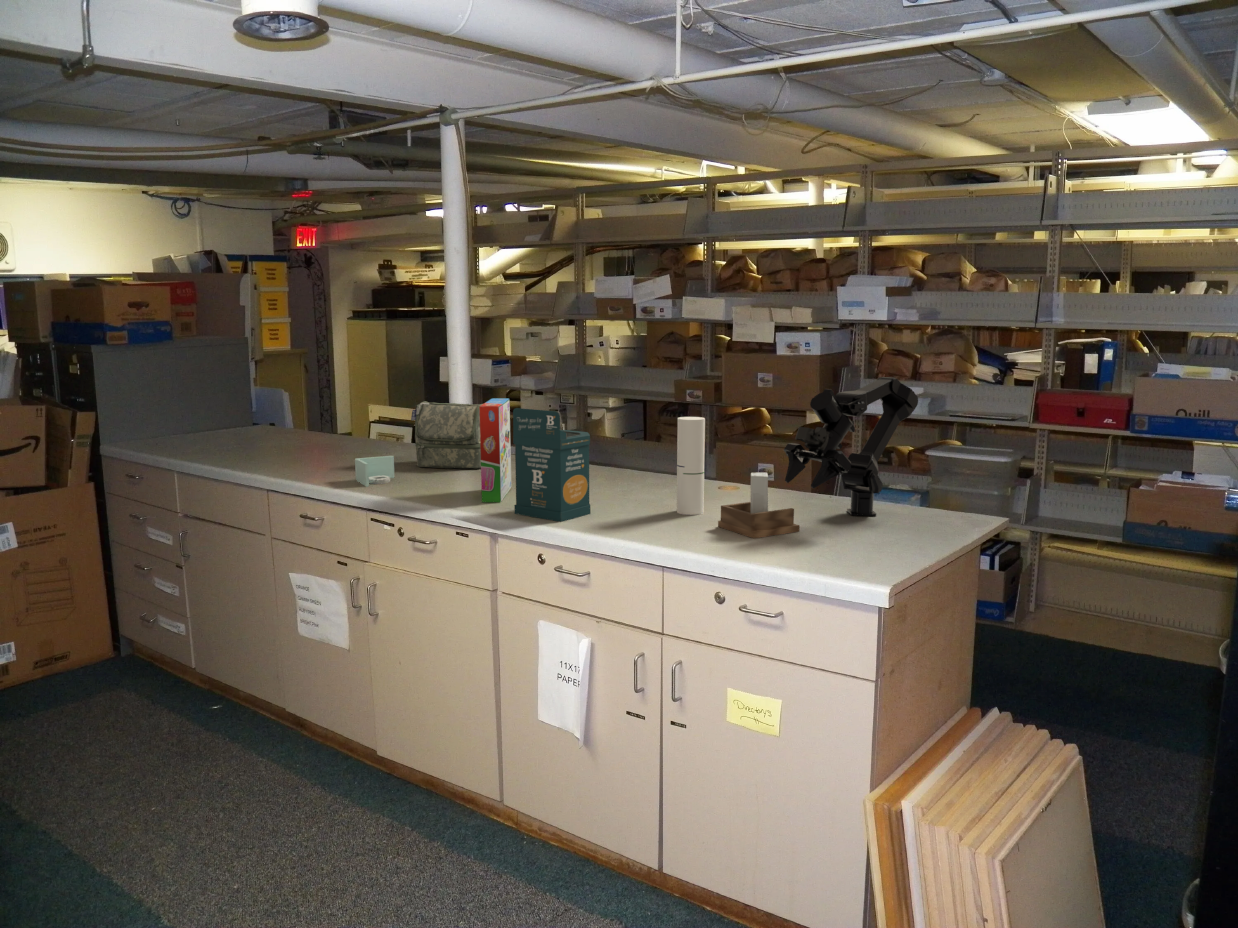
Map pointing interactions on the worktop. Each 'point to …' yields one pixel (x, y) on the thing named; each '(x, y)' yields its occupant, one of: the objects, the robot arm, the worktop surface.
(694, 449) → the cylindrical container
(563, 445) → the donation box
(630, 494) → the worktop surface
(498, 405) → the game box
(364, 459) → the l-shaped corner panel
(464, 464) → the lunch bag
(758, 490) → the skincare box
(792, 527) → the box
